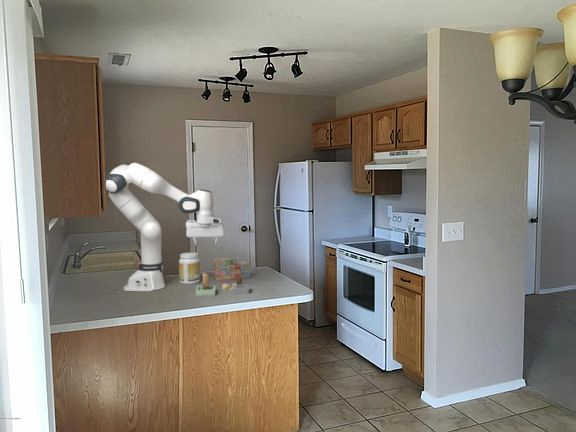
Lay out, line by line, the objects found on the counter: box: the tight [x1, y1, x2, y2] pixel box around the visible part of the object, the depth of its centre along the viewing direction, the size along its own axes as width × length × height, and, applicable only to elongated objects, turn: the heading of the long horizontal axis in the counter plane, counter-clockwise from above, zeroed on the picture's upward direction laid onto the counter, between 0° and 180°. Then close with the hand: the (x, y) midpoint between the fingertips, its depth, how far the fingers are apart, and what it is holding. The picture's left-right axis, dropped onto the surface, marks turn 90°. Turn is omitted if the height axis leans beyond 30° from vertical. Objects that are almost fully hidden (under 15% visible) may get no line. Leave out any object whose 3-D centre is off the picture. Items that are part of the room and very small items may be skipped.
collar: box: [233, 284, 250, 295], centre depth 267 cm, size 8×8×3 cm
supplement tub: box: [178, 252, 201, 285], centre depth 288 cm, size 12×12×17 cm
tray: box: [195, 284, 217, 297], centre depth 264 cm, size 10×10×3 cm
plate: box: [221, 282, 237, 291], centre depth 274 cm, size 8×6×2 cm
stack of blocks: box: [213, 257, 251, 281], centre depth 299 cm, size 21×6×12 cm, turn 107°
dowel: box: [202, 272, 210, 290], centre depth 263 cm, size 3×3×10 cm
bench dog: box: [236, 277, 243, 285], centre depth 274 cm, size 3×5×6 cm, turn 6°
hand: (205, 245), depth 263 cm, fingers open, 8 cm apart
